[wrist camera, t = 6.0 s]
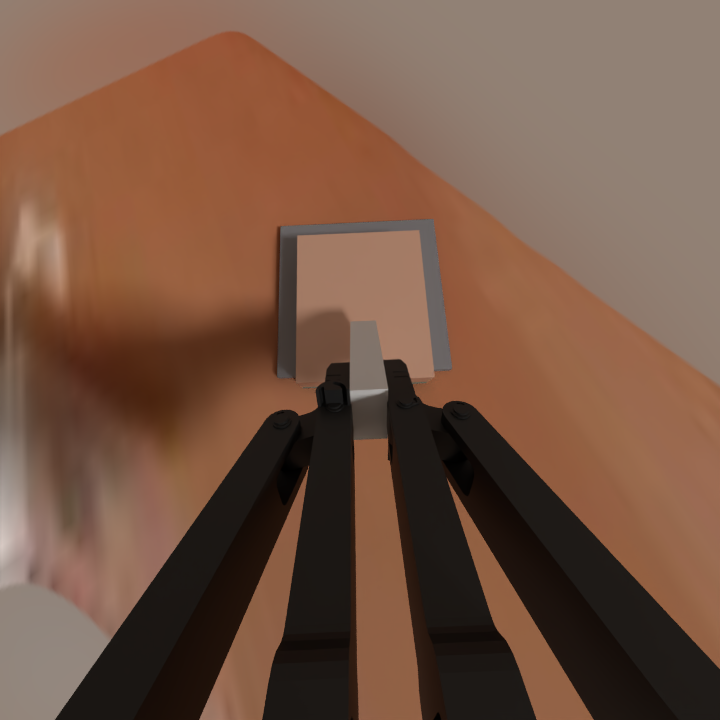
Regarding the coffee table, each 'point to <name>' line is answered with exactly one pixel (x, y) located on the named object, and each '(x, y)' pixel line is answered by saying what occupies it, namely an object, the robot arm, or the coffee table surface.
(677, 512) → the coffee table surface
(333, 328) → the tile
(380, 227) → the pad
